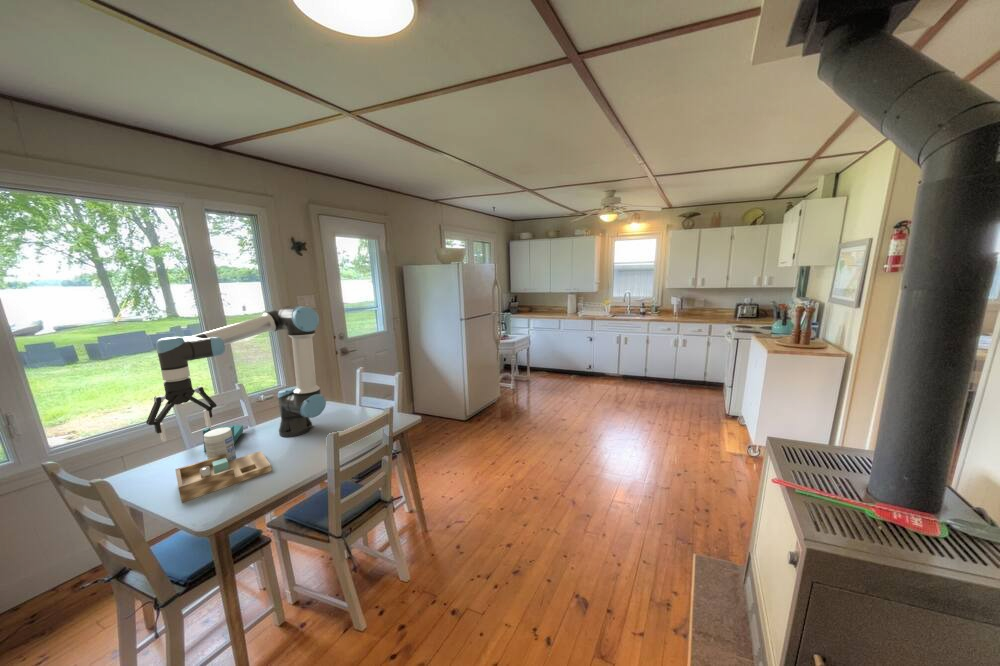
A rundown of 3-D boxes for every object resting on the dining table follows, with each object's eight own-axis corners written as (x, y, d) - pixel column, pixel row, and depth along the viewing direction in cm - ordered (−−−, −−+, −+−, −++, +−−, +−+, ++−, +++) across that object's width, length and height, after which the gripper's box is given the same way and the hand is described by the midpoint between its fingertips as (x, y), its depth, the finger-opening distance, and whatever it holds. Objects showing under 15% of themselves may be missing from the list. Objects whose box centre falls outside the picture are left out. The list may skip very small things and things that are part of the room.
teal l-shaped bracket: (232, 449, 169) (231, 428, 168) (204, 452, 165) (202, 430, 164) (243, 434, 186) (242, 414, 184) (217, 436, 181) (216, 416, 180)
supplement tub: (236, 464, 153) (230, 432, 151) (207, 472, 148) (201, 439, 146) (237, 455, 161) (232, 425, 159) (210, 462, 156) (204, 430, 154)
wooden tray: (261, 456, 160) (259, 443, 159) (271, 470, 147) (269, 457, 146) (178, 483, 140) (175, 469, 139) (181, 502, 128) (178, 487, 127)
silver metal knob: (212, 479, 137) (209, 465, 136) (213, 482, 135) (210, 468, 134) (202, 483, 135) (199, 468, 134) (203, 486, 133) (200, 471, 132)
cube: (227, 467, 146) (226, 457, 145) (229, 471, 143) (227, 461, 142) (214, 472, 143) (212, 462, 142) (215, 476, 139) (213, 466, 139)
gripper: (212, 369, 144) (220, 419, 148) (126, 387, 123) (138, 445, 127) (221, 371, 141) (229, 422, 144) (134, 390, 119) (146, 449, 123)
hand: (187, 433), depth 135 cm, fingers open, 13 cm apart
